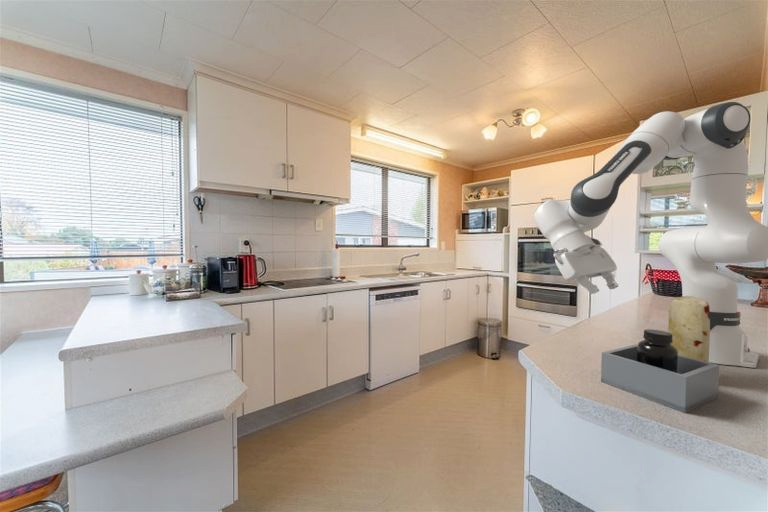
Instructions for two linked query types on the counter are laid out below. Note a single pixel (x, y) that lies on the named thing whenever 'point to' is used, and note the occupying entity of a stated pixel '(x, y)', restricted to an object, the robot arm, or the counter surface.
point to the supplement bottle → (658, 350)
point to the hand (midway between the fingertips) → (605, 290)
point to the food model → (690, 327)
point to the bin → (662, 379)
